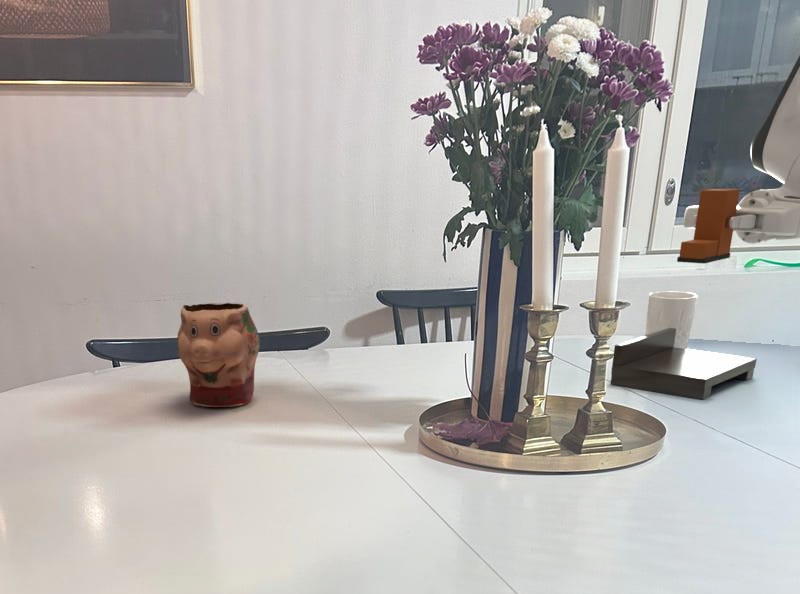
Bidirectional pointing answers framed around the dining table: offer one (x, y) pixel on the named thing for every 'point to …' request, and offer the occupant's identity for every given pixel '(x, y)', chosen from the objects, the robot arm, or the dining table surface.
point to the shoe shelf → (674, 366)
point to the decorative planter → (218, 353)
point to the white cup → (671, 314)
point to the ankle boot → (711, 227)
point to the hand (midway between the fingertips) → (712, 221)
